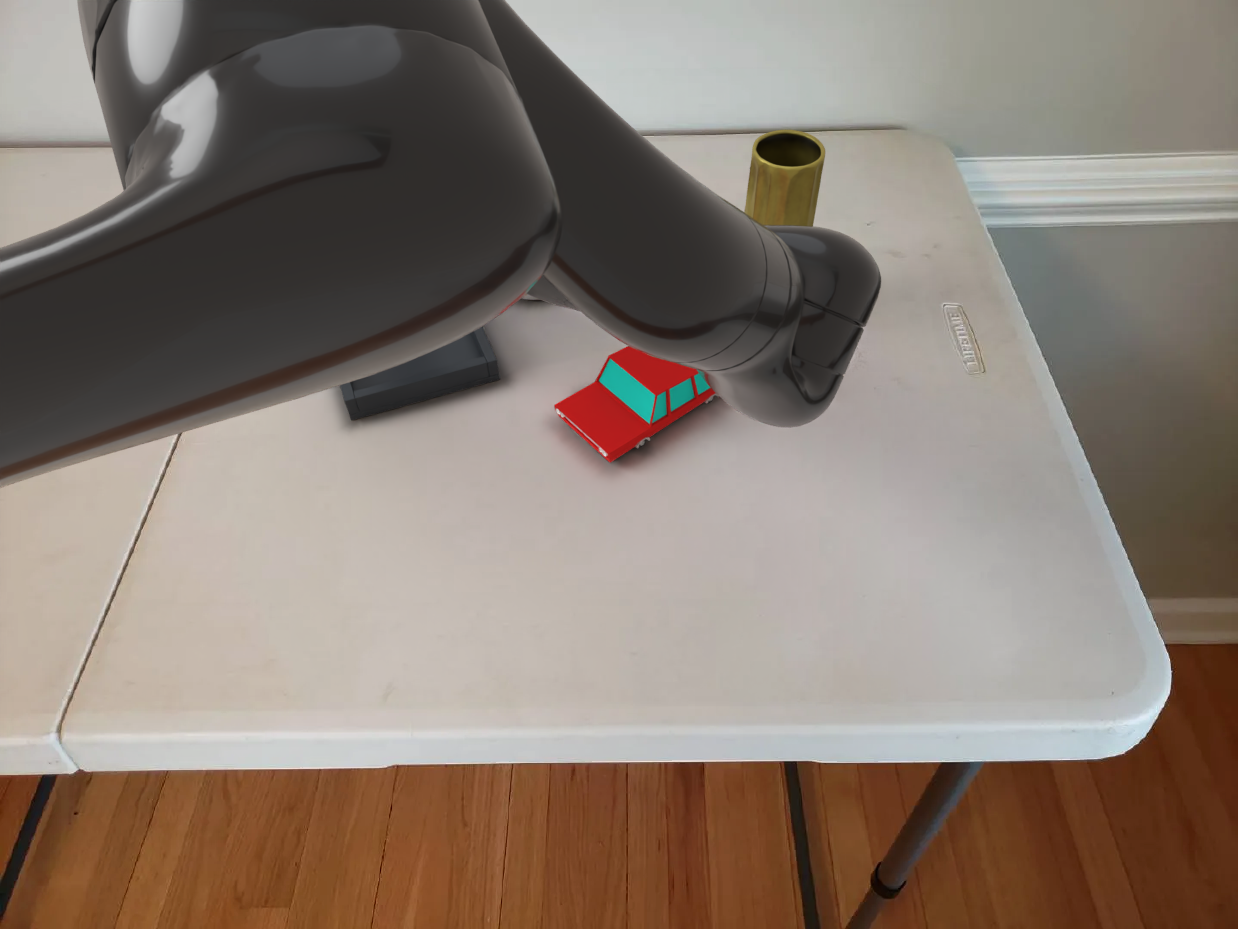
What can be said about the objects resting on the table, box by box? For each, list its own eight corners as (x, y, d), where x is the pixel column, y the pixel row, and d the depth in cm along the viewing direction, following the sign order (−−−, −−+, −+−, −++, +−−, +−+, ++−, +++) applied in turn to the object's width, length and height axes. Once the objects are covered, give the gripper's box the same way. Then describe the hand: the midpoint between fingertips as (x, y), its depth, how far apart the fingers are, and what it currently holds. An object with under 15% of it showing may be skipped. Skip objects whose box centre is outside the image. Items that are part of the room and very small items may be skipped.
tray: (351, 420, 69) (344, 401, 67) (298, 229, 84) (291, 210, 82) (500, 379, 71) (497, 359, 70) (422, 201, 87) (418, 182, 85)
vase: (714, 301, 77) (728, 146, 66) (765, 270, 79) (786, 116, 69) (768, 338, 74) (792, 182, 63) (819, 305, 76) (850, 149, 66)
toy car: (553, 419, 68) (549, 380, 65) (672, 347, 73) (674, 308, 70) (609, 470, 65) (608, 432, 62) (730, 391, 70) (734, 352, 67)
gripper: (605, 118, 56) (397, 52, 62) (454, 241, 48) (233, 152, 54) (609, 223, 62) (418, 153, 68) (474, 348, 54) (273, 256, 60)
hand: (337, 153), depth 61 cm, fingers closed on pill bottle, 6 cm apart
